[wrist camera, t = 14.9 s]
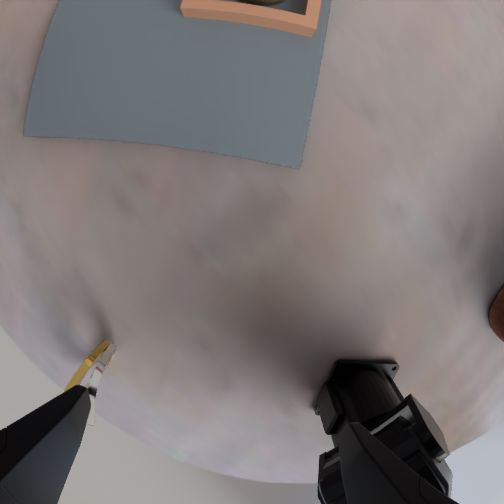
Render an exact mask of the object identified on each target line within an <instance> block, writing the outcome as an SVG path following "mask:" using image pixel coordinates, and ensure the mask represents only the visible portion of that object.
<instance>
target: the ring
mask: <svg viewBox="0 0 504 504" xmlns="http://www.w3.org/2000/svg"><path fill="white" fill-rule="evenodd" d="M115 349H116V345H114V344H113V343H112V342H110V341H109V340H106V341H104V342H103V343H102V344H101V345H99V346H98V347H97V348H96V349H95V350H94V351H93V352H92V353H91V355H90V356H89V357H88V358H87V359H86V360H85V361H84V363H83V364H82V365H81V366H80V368H79V369H78V370H77V372H76V373H75V374H74V376H73V377H72V379H71V380H70V382H69V383H68V385H67V387H66V388H65V390H64V391H63V392H65V391H67V390H68V389H70V388H71V387H73V386H75V385H80V383H81V381H82V380H83V378H84V376H85V375H86V373H87V372H88V371H89V369H90V368H91V367H92V365H93V364H94V363H95V362H96V361H97V360H98V359H99V361H98V363H97V365H96V368H95V370H94V372H93V373H92V375H91V377H90V379H89V381H88V383H87V385H86V387H87V388H88V390H89V395H90V400H91V410H90V413H89V416H88V420H87V423H86V425H91V426H94V425H95V397H96V392H97V387H98V384H99V381H100V378H101V376H102V373H103V371H104V369H105V367H106V365H108V363H109V361H110V359H111V357H112V355H113V352H114V351H115ZM63 392H61V393H59V394H58V395H60V394H62V393H63Z"/></svg>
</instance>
